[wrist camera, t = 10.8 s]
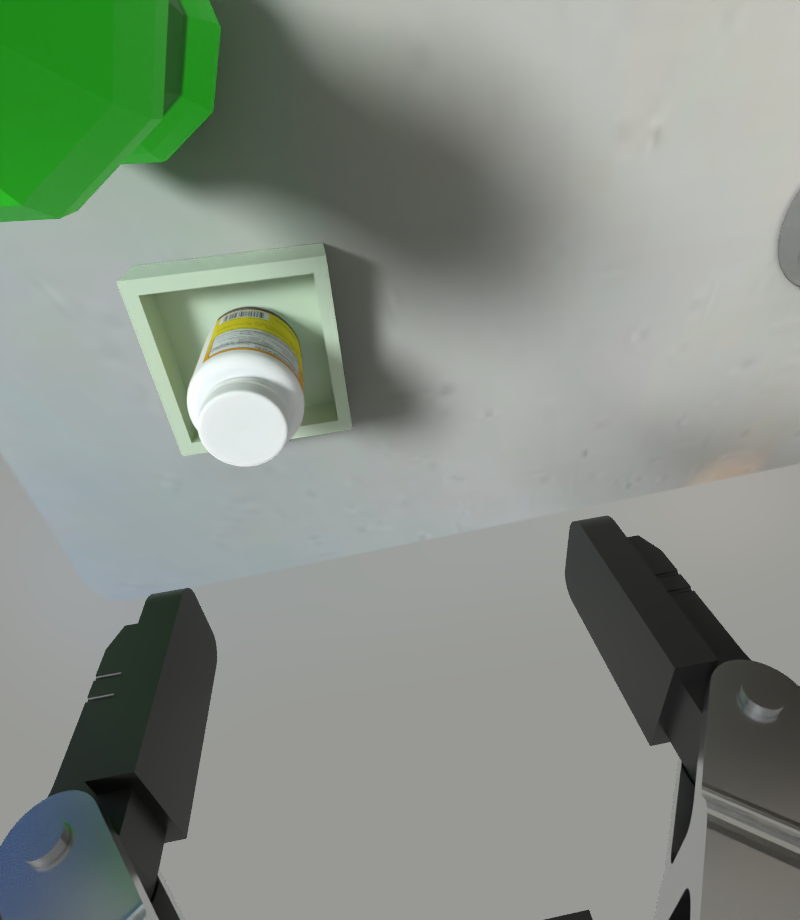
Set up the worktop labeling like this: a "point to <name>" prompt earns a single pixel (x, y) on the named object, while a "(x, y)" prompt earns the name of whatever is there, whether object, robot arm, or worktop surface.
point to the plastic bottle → (96, 93)
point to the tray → (220, 290)
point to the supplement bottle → (247, 387)
